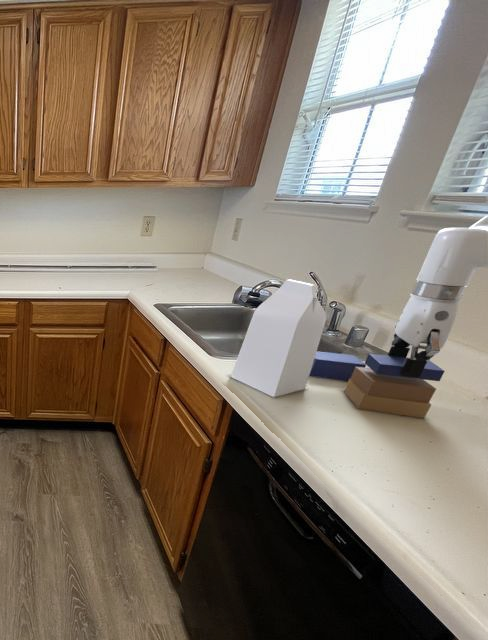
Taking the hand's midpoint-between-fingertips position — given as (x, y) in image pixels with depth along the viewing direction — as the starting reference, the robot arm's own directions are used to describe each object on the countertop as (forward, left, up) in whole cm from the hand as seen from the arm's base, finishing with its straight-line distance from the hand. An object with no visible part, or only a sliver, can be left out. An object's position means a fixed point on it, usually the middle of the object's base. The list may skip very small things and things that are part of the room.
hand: (401, 368), depth 94 cm
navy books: (+7, -15, -9) cm, 19 cm away
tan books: (+1, 0, -9) cm, 9 cm away
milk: (+24, -3, -9) cm, 26 cm away
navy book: (0, 0, -1) cm, 1 cm away
